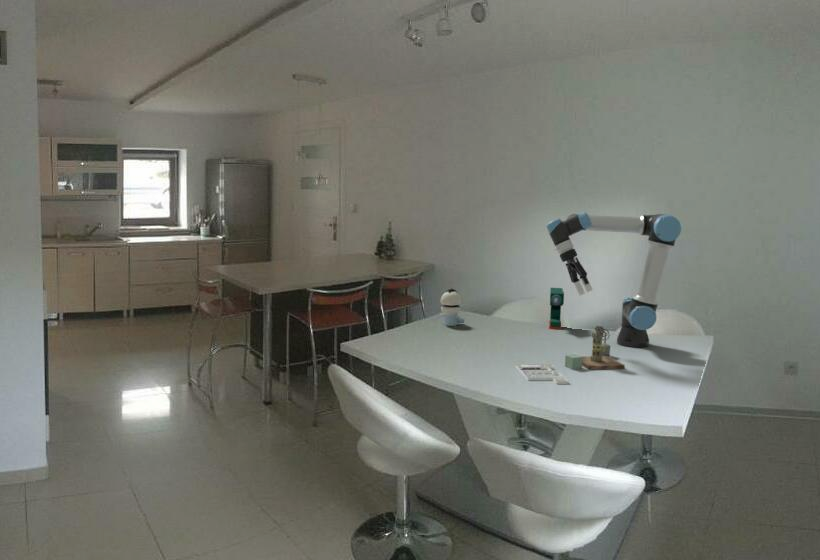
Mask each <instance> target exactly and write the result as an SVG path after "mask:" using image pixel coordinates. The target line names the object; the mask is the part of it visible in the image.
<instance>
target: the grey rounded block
mask: <svg viewBox="0 0 820 560" xmlns="http://www.w3.org/2000/svg"><path fill="white" fill-rule="evenodd" d="M599 347H600V346H599ZM601 356H610V357H611V345H610V344H608V343H606V346H605V351H604V343H602V350H601Z"/></svg>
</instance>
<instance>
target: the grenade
mask: <svg viewBox="0 0 820 560" xmlns="http://www.w3.org/2000/svg"><path fill="white" fill-rule="evenodd" d="M592 328H593V329H594V331H593V332H591V337H592V348H591V349H592V350H591V351H592V352H591V355H590V356H591V360H592V361H596V362H600V361H602V356H601V350H602V344H604V351H605V346H606V344H607V343H606V342H607V340H608V339H609V338H610V336H611V335H610V332H609V331H608V329H606V328H604V327H603V326H602V325H593V327H592ZM603 341H604V343H603ZM599 346H600V347H599Z"/></svg>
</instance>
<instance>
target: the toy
mask: <svg viewBox="0 0 820 560" xmlns="http://www.w3.org/2000/svg"><path fill="white" fill-rule="evenodd" d="M439 303H440V304H441V305H442V306H441V307H440V310H441V313H439V316H440V317H443V326H448V327H455V326H457V325H458V324H464V323H465V318H464V317H461V316H459V315H458V314H459V313H460V311H461V305H460V304H462V298H461V296H460V294H459V292H458V291H457V290H456V289H454V288H449V289H447V290H446V291H445V292H444V293H443V294H442V296H441V298H440V301H439Z"/></svg>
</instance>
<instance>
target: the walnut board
mask: <svg viewBox="0 0 820 560" xmlns="http://www.w3.org/2000/svg"><path fill="white" fill-rule="evenodd" d="M591 356H592V355H589V356H587V355H586V356H581V357H582V367H584V368H585V369H587V370H589V371H590V370H623V369H624V370H625V364H623V363H622V362H621V361H618V360H616V359H615V358H613V357H611V355H610V356H602V361H600V362H596V361H592V360H591Z"/></svg>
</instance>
